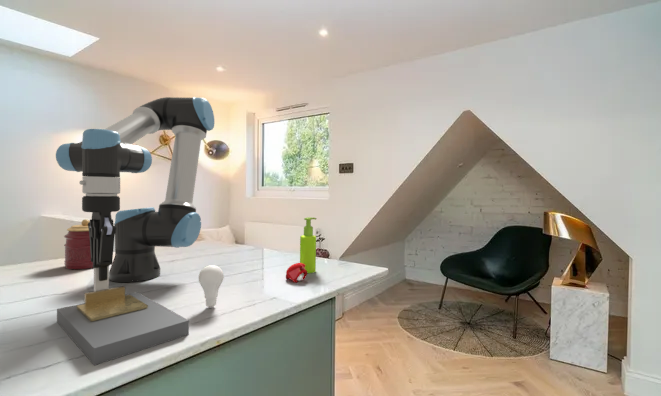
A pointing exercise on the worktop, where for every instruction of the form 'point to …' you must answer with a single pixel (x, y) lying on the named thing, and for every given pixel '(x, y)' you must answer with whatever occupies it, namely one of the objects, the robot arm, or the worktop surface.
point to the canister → (78, 247)
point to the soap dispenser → (308, 247)
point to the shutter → (109, 303)
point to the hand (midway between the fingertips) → (101, 293)
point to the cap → (296, 271)
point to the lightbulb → (211, 283)
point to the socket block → (122, 330)
